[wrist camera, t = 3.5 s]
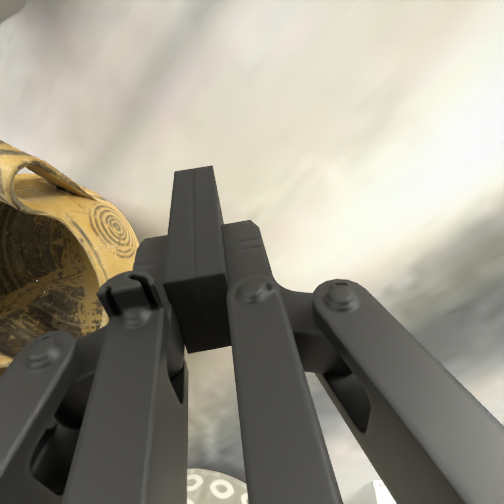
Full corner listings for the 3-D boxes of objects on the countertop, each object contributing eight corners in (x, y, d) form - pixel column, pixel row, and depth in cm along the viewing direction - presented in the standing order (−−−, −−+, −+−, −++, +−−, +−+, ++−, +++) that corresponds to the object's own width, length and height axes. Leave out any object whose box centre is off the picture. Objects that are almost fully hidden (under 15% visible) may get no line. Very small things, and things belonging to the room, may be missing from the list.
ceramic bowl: (56, 113, 33) (-136, 76, 19) (205, 195, 33) (122, 221, 19) (4, 293, 40) (-165, 365, 26) (127, 363, 40) (23, 476, 26)
